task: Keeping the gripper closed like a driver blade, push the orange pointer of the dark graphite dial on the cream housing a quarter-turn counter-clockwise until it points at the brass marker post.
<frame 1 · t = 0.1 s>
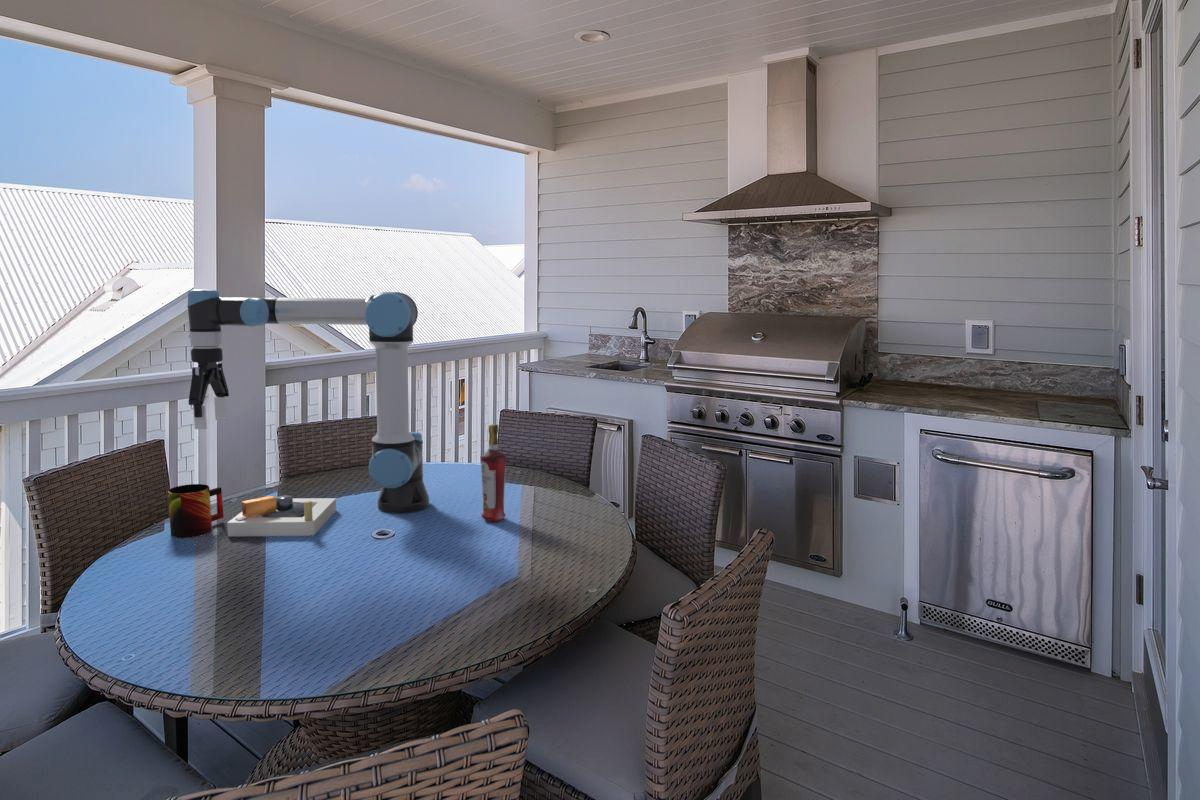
hand: (211, 424, 197), 28 cm above the table, fingers open, 13 cm apart
liquor: (493, 520, 207), on the table
mug: (195, 530, 194), on the table
housing: (285, 522, 201), on the table
dial: (275, 506, 199), point 5 cm above the table, hinge at 45.0°
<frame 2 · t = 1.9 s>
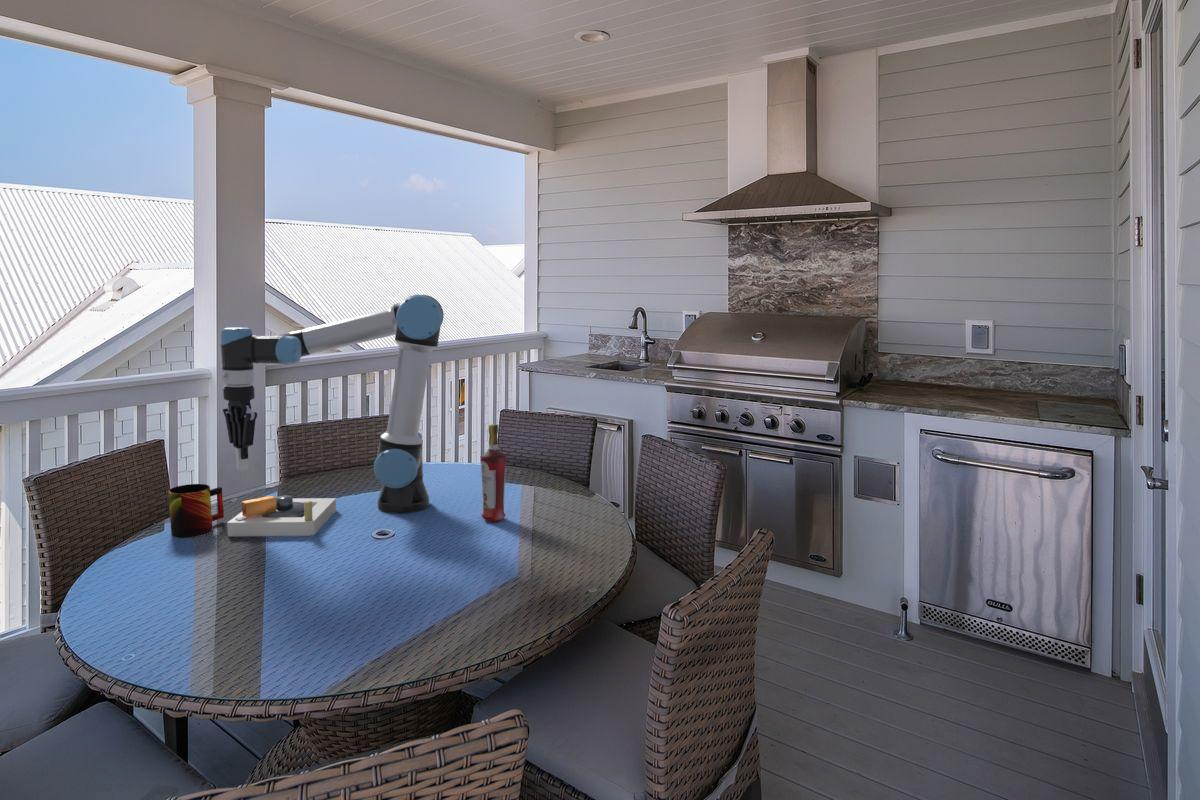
hand: (242, 470, 197), 16 cm above the table, fingers closed
nothing on the table moved.
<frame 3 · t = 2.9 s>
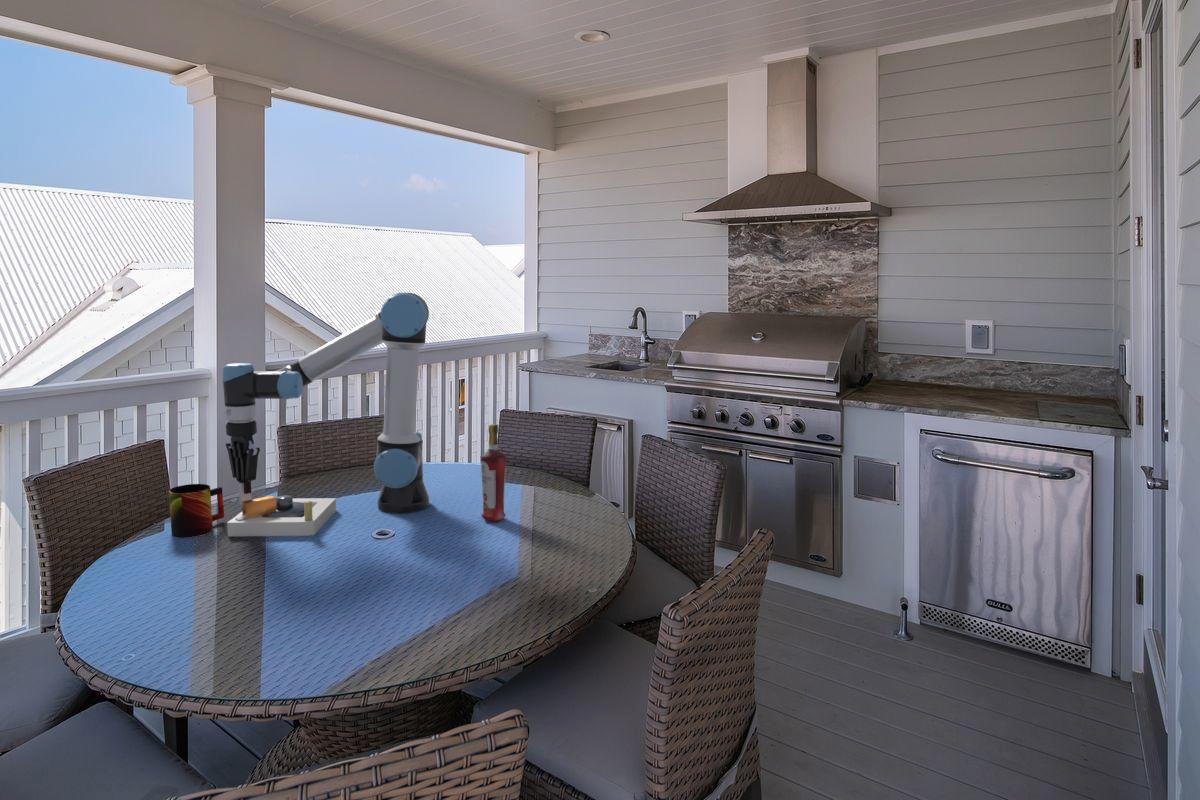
hand: (245, 504, 198), 6 cm above the table, fingers closed
nothing on the table moved.
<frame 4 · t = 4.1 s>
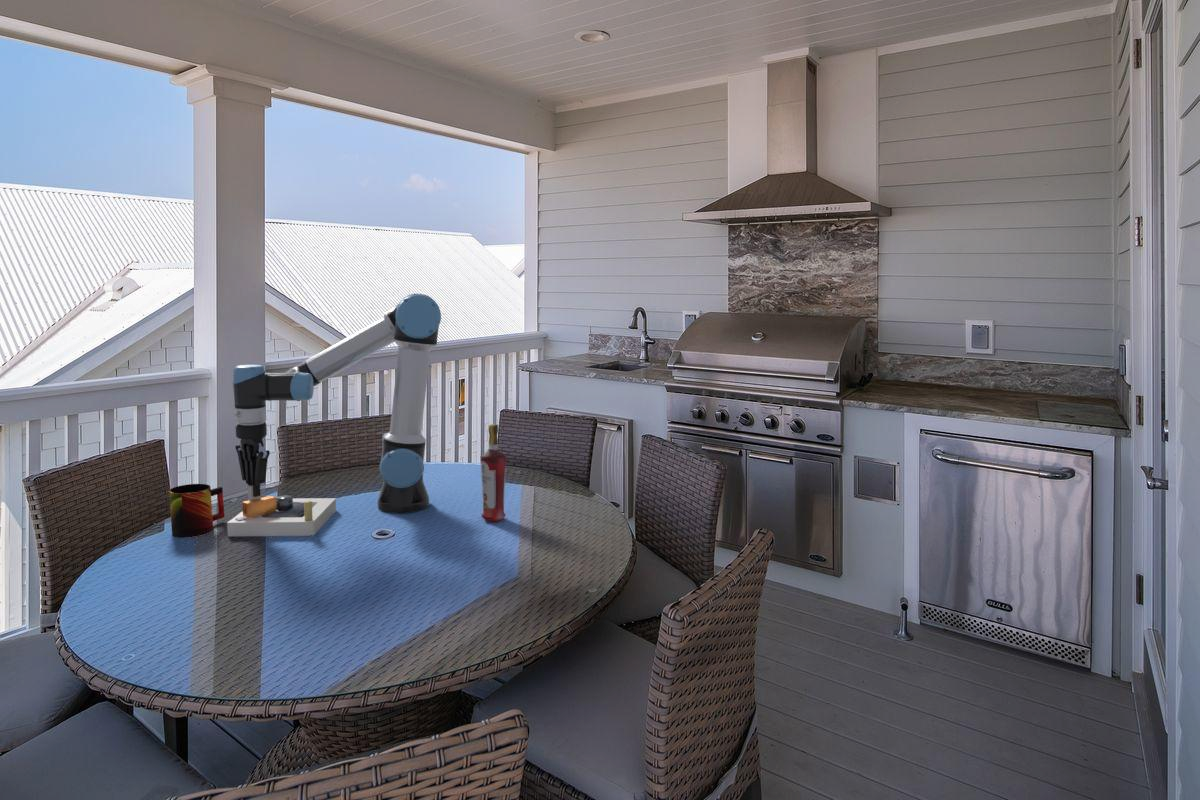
hand: (254, 507, 196), 6 cm above the table, fingers closed
dial: (275, 506, 199), point 5 cm above the table, hinge at 46.9°, touching gripper
everything else where it was.
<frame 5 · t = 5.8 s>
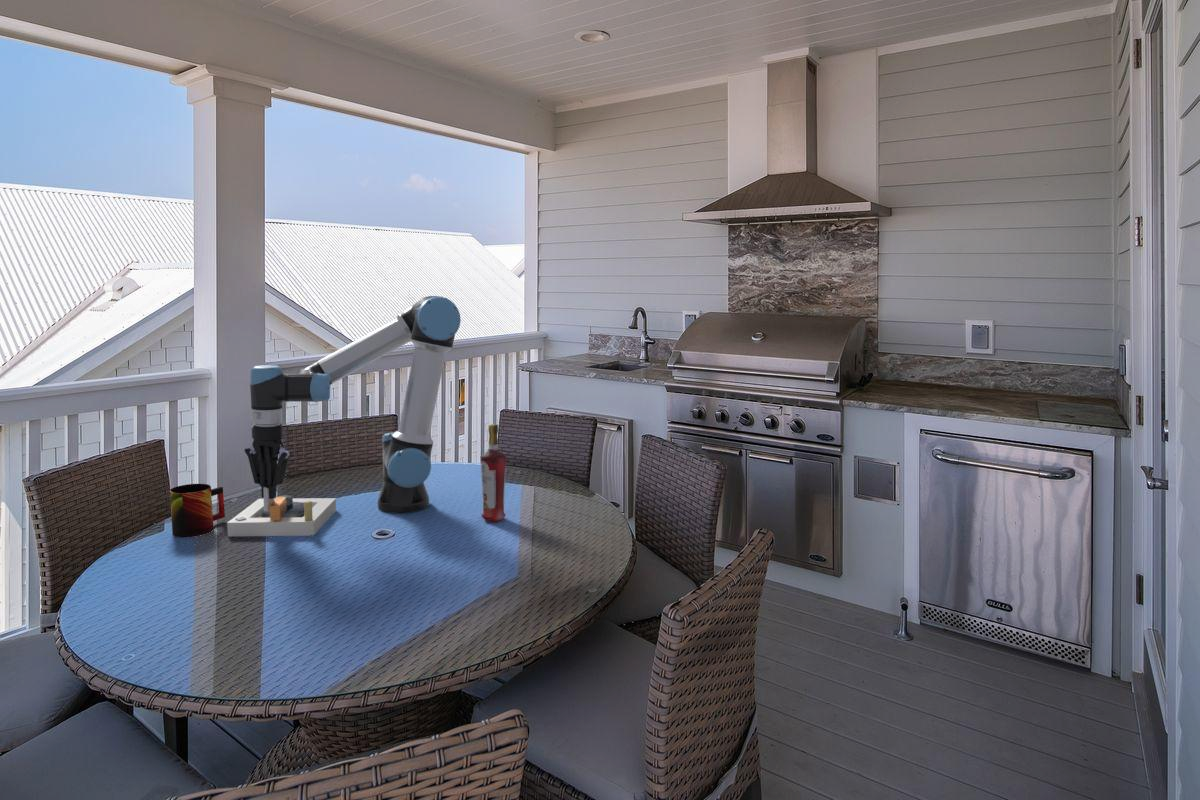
hand: (269, 509, 193), 6 cm above the table, fingers closed
dial: (282, 507, 198), point 5 cm above the table, hinge at 96.6°, touching gripper
everything else where it was.
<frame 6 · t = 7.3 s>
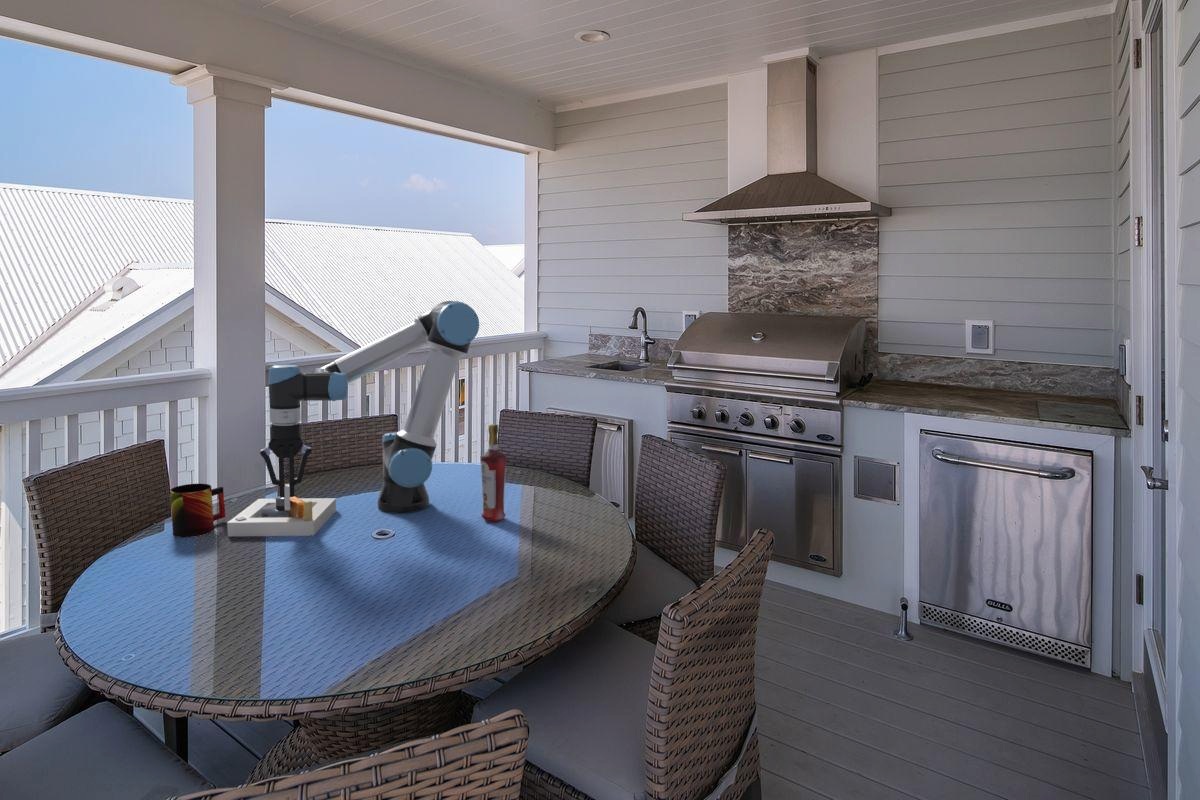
hand: (287, 508, 194), 6 cm above the table, fingers closed
dial: (288, 506, 199), point 5 cm above the table, hinge at 131.7°, touching gripper
everything else where it was.
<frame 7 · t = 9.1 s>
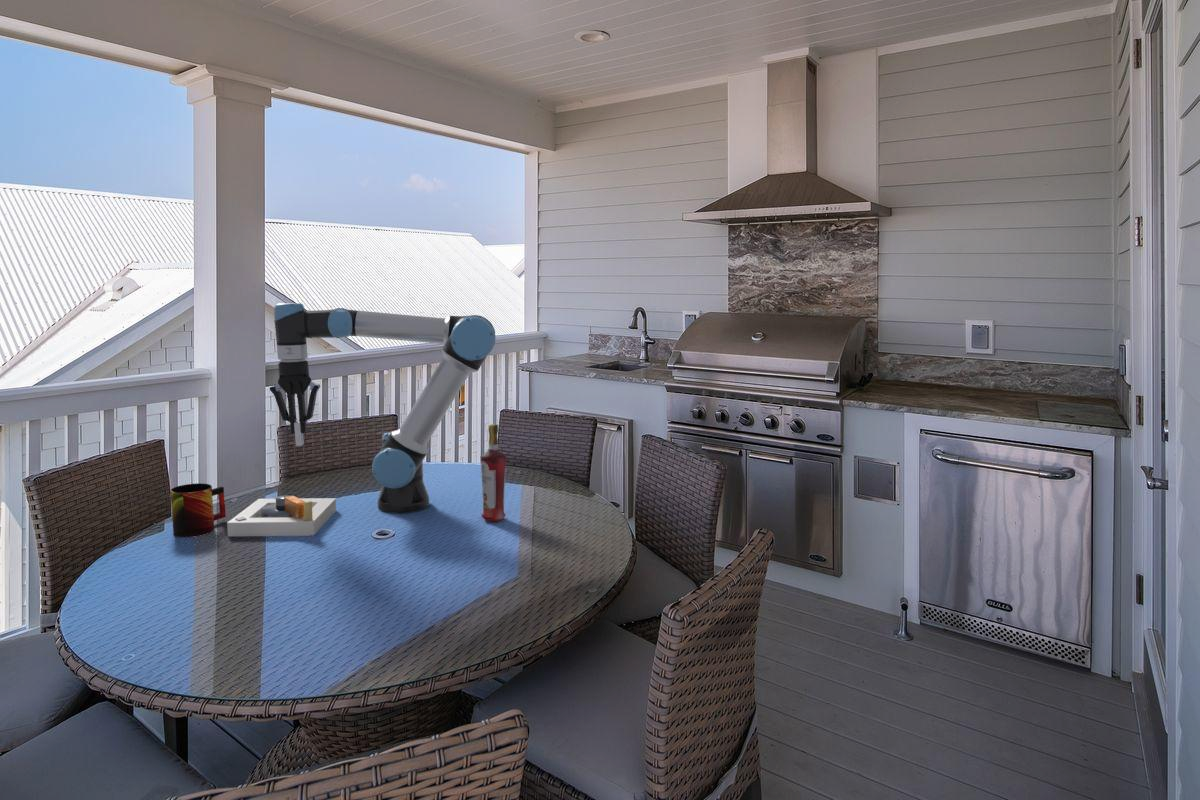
hand: (299, 444, 199), 22 cm above the table, fingers closed
dial: (288, 506, 199), point 5 cm above the table, hinge at 131.8°
everything else where it was.
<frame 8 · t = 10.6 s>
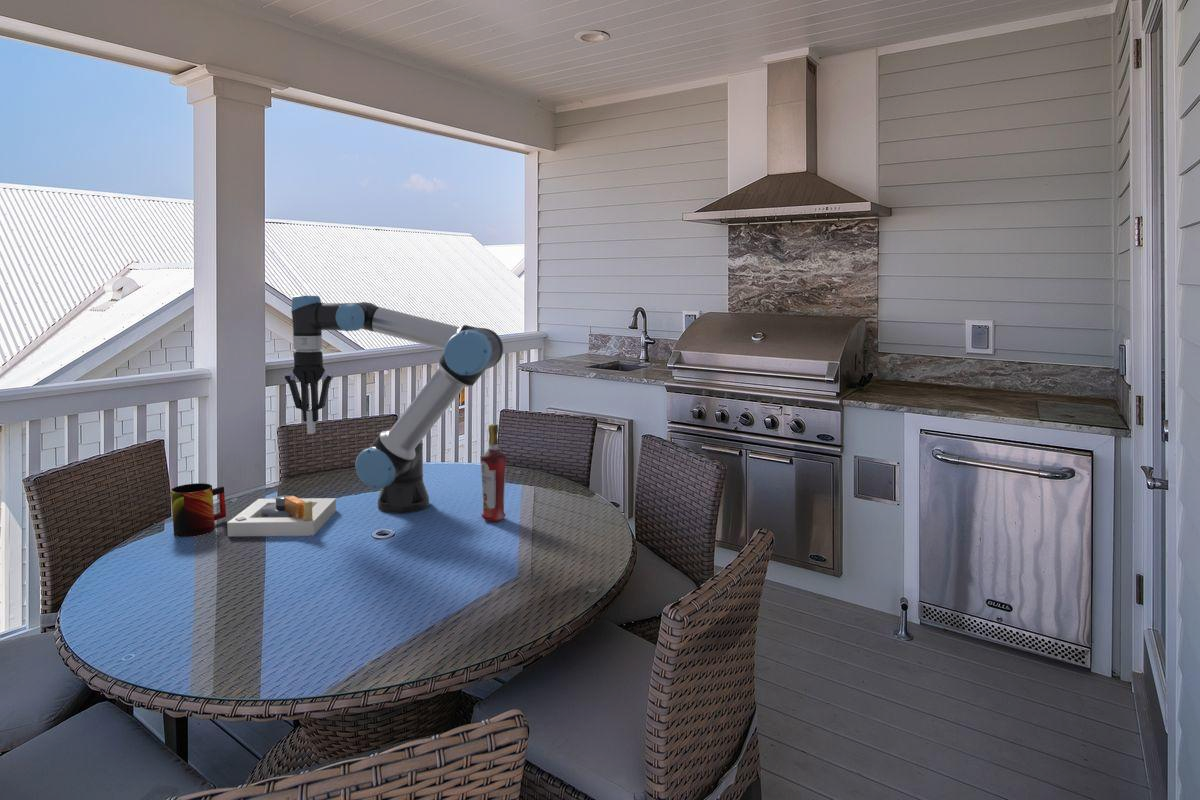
hand: (311, 432, 205), 24 cm above the table, fingers closed
nothing on the table moved.
at the end: dial at +132° (first picture: +45°) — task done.
